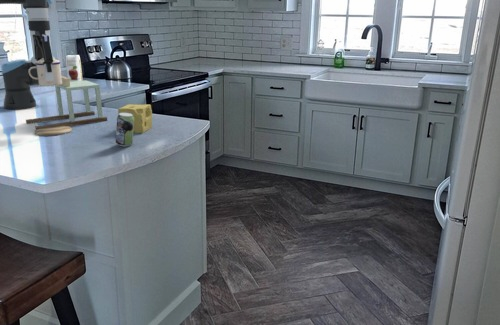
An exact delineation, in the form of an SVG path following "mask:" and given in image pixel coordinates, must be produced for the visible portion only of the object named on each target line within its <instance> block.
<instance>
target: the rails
mask: <svg viewBox="0 0 500 325" xmlns="http://www.w3.org/2000/svg"><path fill="white" fill-rule="evenodd" d="M95 114H96V113H95V111H93V110H90V112H86V111H84V112H83V111H82V112H74V117H75V118H81V117H88V116H95ZM63 115H64V116H59V114H58V115H53V116H43V117H38V118H30V119H29V118H28V119H25V123H26V125H30V124H36V123H44V122H51V121H59V120H65V118H67V119H70V118H69V113H67V114H63ZM106 121H107V122H108V117H107V116H103V118H98V117H94V118H93V117H92V118H84V119H80V120H79V119H77V120H75V122H70V121H64V122H56V123H49V124H43V125H37V126H36V125H35V126H34V127H35V131H36V130H37V129H40V128H47V127H54V126H68V127H73V126H79V125H86V124H94V123H100V122H106Z"/></svg>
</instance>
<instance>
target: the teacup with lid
mask: <svg viewBox="0 0 500 325" xmlns="http://www.w3.org/2000/svg"><path fill="white" fill-rule="evenodd" d="M54 58H55V57H54ZM54 58H53V62H52V69H53V77H54V81H46V76H45V69H44V64H43V62H44V58H42V59H40V60H39V61H36V63H35V64H36V66H34V67H31V68H30V69H29V71H28V72H29V75H30V76H31V77H32V78H33V79H38V80H39V85H38V86H41V87H55V86H56V85H61V84H62V77H61V76H62V71H61V70H62V68H61V61H60V60H58V59H56V58H55V59H54ZM33 68H37V73H38V78H36V77H33V76H32V75H31V72H30V70H31V69H33Z"/></svg>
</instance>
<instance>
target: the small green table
mask: <svg viewBox="0 0 500 325" xmlns="http://www.w3.org/2000/svg"><path fill="white" fill-rule="evenodd" d="M61 77H62V84H61V85H56V86H54V88H55V96H56V103H57V104H56V105H57V112H58V115H59V116H64V115H65V114H64V109H63V108H64V106H63V101H62V93H61V89H62V90H64V91H65V94H66V100H67V108H68V109H67V110H68V114H69V118H68V119H69V122H75V121H76V120H75V118H74V113H75V112H74V111H75V110H74V104H73V96H72V91H79V90H83V97H84V107H85V112H90V111H91V106H90V104H91V103H90V96H89V89H94V91H95V92H94V93H95V101H96V110H97V118H103V117H104V116H103V105H102V97H101V85H100V84H99V83H95V82H92V81H89V80H87V79H86V80H84V79H83V80H82V81H73V82H70V81H69V78H68V76H67V77H66V76H64V75H61Z"/></svg>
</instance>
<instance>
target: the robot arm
mask: <svg viewBox="0 0 500 325" xmlns="http://www.w3.org/2000/svg"><path fill="white" fill-rule="evenodd" d="M52 3H53V1H52V0H0V5H10V4H11V5H12V4H13V5H21V6H22V8H23V10H25V11H24V13H25V14H26V16H27V25H28V30H29V33H30V34H29V35H30V41H31V43H30V44H31V49H32V54H33V56H32V57H31V58H30V61H29V62H27V60H26V59H16V60H11V61H7V62H3V63H2V64H1V74H2V79H3V86H4V91H5V92H4V93H5V94H4V100H3V108H4V109H6V110H22V109H28V108H33V107H36V106H37V101H36V99H35V97H34V95H33V93H32V91H31V86H40V85H39V80H38V79H33V78H32V77H31V76H30V75H29V72H28V71H29V69H30V68H31V67H34V66H36V64H35V63H36V61H39V60H40V59H42V58H44V62H43V64H44V69H45V76H46V81H54V77H53V69H52V62H53V58H54V59H56V57H55V56H53V54H52V46H51V39H50V31H51V25H50V24H51V22H50V20H49V19H50V15H49V9H50V5H52ZM30 72H31V75H32V76H33V77H36V78H38V73H37V68H33V69H31V70H30Z"/></svg>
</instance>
